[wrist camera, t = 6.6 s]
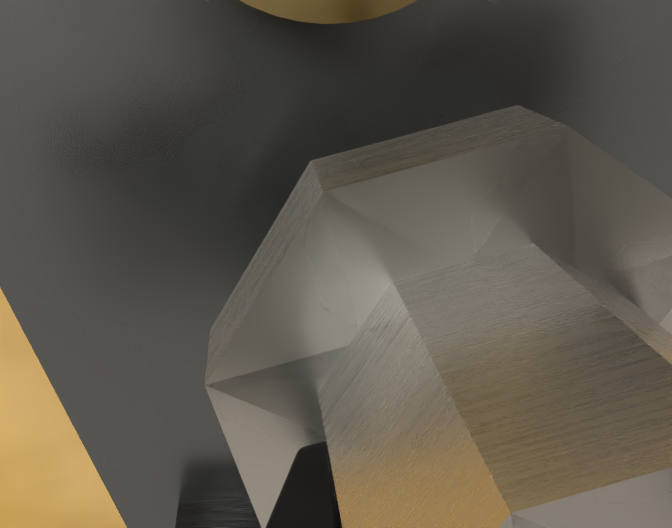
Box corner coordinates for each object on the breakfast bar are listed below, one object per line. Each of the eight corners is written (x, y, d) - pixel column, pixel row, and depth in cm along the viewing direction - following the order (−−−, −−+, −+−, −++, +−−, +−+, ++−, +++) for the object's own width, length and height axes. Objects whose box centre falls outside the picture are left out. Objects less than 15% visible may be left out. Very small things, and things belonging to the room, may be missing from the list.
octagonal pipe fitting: (661, 66, 8) (1178, 158, 4) (664, 452, 11) (957, 773, 6) (162, 200, 8) (54, 472, 3) (296, 556, 11) (333, 962, 6)
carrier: (745, -701, 8) (1201, -1332, 4) (709, 458, 16) (851, 599, 13) (-331, -449, 8) (-902, -887, 4) (195, 605, 16) (179, 797, 12)
